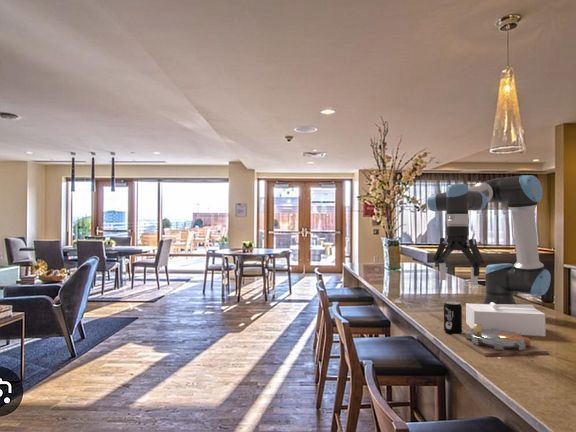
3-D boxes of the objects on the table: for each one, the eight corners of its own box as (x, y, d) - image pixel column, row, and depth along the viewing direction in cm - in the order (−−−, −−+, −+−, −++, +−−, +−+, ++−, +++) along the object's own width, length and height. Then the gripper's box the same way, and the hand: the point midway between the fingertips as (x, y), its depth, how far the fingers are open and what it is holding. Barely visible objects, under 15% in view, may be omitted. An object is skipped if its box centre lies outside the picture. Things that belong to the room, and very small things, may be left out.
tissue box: (466, 323, 165) (465, 298, 165) (530, 326, 159) (530, 300, 159) (474, 332, 151) (474, 305, 151) (545, 336, 145) (545, 308, 145)
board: (507, 335, 147) (507, 331, 147) (548, 353, 126) (548, 350, 126) (452, 336, 145) (452, 333, 145) (484, 356, 124) (484, 352, 124)
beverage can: (463, 335, 146) (463, 304, 146) (445, 334, 148) (445, 303, 148) (459, 330, 153) (459, 300, 153) (442, 329, 154) (442, 300, 154)
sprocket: (505, 332, 146) (504, 316, 146) (544, 349, 126) (544, 331, 126) (455, 333, 145) (454, 317, 145) (486, 351, 125) (486, 333, 125)
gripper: (423, 225, 151) (424, 278, 151) (481, 225, 129) (482, 288, 129) (436, 225, 155) (437, 277, 155) (495, 225, 133) (495, 286, 133)
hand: (457, 282), depth 142 cm, fingers open, 13 cm apart
